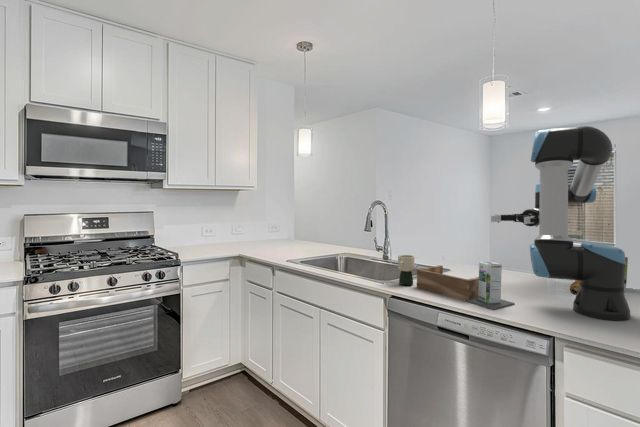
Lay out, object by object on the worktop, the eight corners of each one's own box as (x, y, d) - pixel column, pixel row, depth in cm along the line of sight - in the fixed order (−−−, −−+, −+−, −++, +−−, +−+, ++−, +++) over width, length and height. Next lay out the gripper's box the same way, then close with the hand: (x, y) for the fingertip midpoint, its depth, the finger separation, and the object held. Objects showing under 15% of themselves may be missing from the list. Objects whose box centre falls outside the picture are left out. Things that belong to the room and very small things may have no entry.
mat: (514, 304, 130) (514, 303, 130) (493, 310, 124) (493, 308, 124) (485, 296, 140) (485, 295, 140) (464, 301, 135) (464, 299, 135)
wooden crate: (439, 282, 163) (439, 265, 163) (491, 295, 143) (492, 275, 142) (416, 287, 155) (416, 269, 154) (468, 301, 134) (468, 280, 134)
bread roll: (601, 307, 138) (611, 289, 137) (574, 294, 139) (584, 277, 138) (587, 299, 148) (597, 282, 146) (562, 288, 149) (572, 271, 148)
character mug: (404, 281, 166) (404, 253, 166) (418, 283, 162) (418, 255, 161) (393, 285, 158) (393, 256, 158) (407, 288, 154) (407, 258, 153)
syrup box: (477, 299, 135) (478, 261, 134) (491, 298, 136) (491, 260, 135) (487, 304, 129) (488, 264, 128) (501, 302, 130) (502, 263, 129)
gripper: (565, 228, 146) (540, 231, 135) (505, 224, 167) (479, 226, 155) (565, 209, 146) (540, 211, 134) (505, 208, 167) (479, 209, 155)
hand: (507, 219), depth 145 cm, fingers open, 13 cm apart
